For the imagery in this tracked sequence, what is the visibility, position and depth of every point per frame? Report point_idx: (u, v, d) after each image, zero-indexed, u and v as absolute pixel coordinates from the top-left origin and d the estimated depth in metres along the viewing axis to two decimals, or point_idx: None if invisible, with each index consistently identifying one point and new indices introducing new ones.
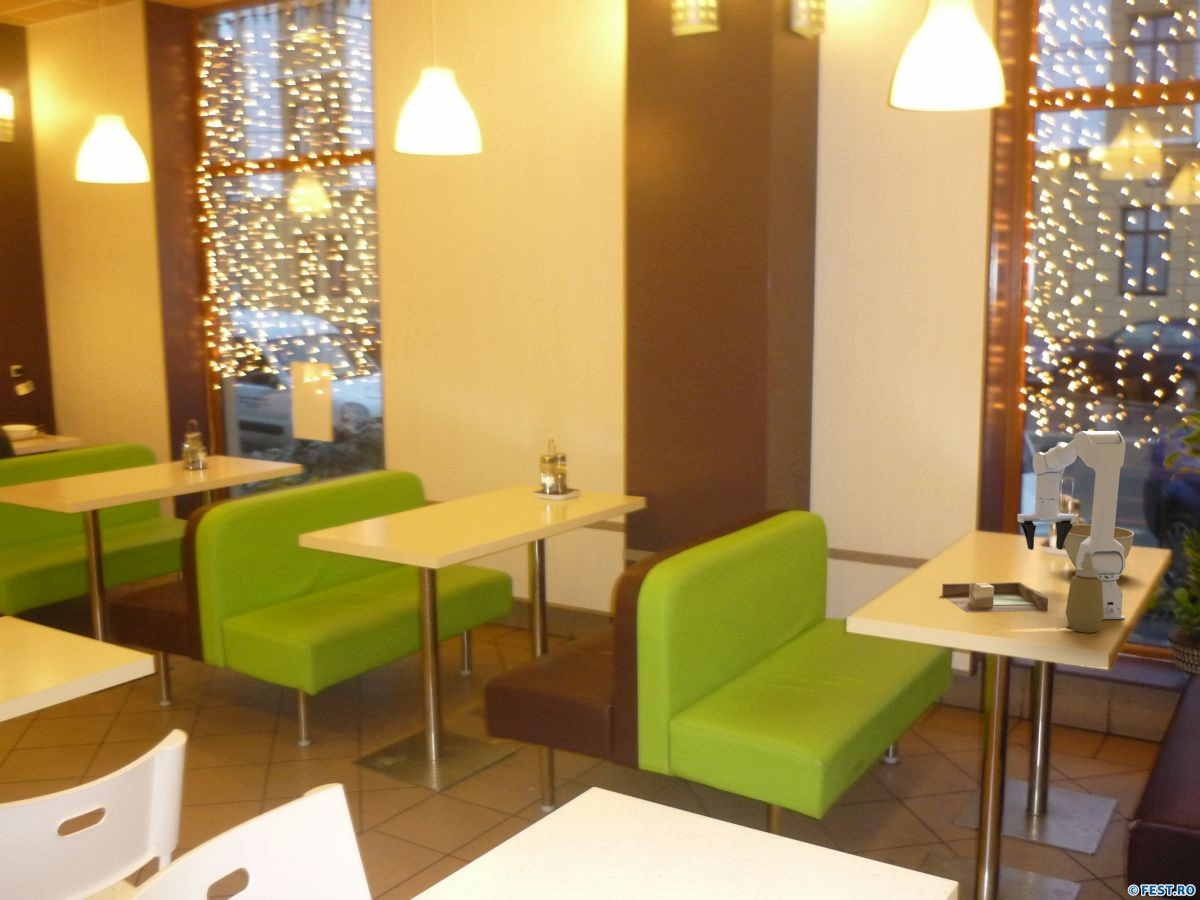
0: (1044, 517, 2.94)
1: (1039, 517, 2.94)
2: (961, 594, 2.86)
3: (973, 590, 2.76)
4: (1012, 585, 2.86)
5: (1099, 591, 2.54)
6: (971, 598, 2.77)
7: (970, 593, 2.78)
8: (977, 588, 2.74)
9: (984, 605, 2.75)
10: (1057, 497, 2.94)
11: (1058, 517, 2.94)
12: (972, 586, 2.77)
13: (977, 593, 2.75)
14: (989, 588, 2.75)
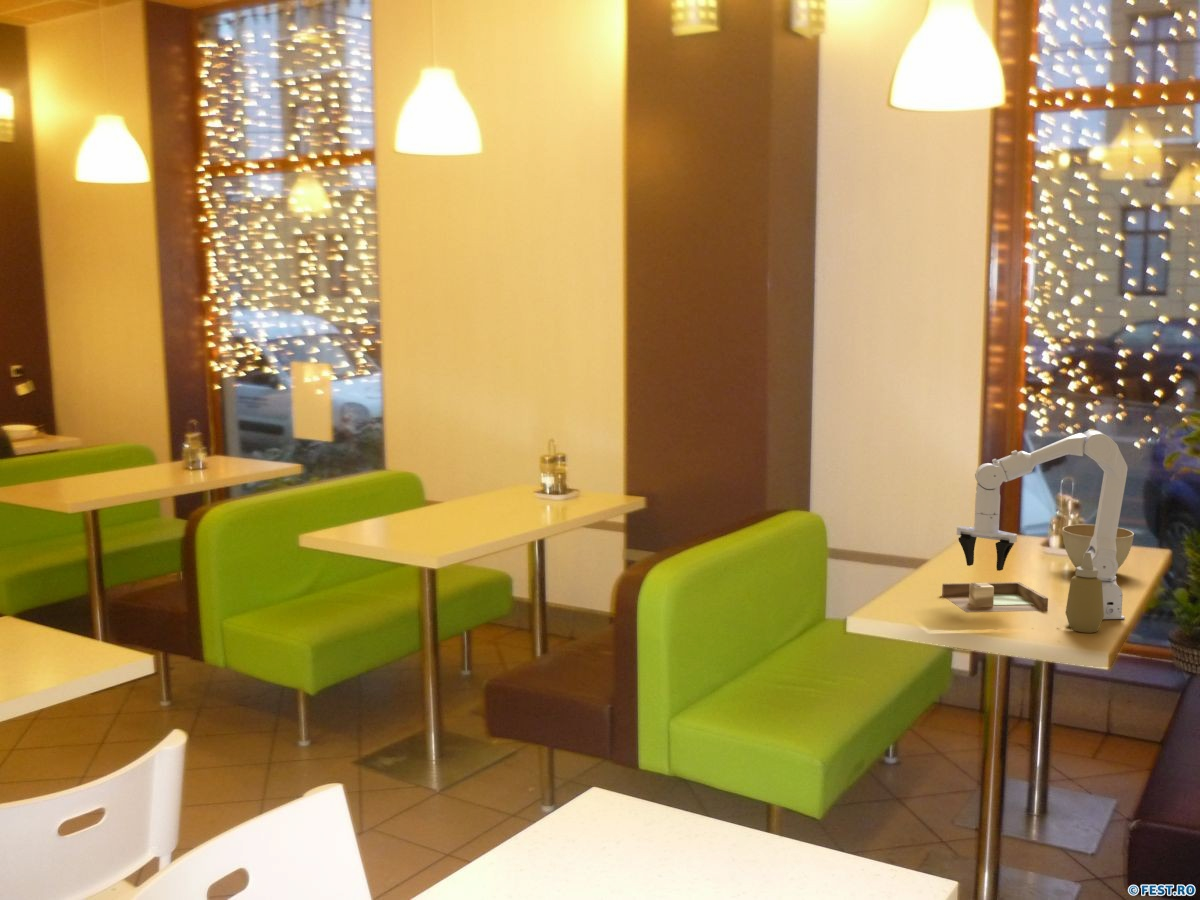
0: (975, 532, 2.75)
1: (971, 531, 2.76)
2: (961, 594, 2.86)
3: (973, 590, 2.76)
4: (1012, 585, 2.86)
5: (1099, 591, 2.54)
6: (971, 598, 2.77)
7: (970, 593, 2.78)
8: (977, 588, 2.74)
9: (984, 605, 2.75)
10: None
11: (990, 534, 2.73)
12: (972, 586, 2.77)
13: (977, 593, 2.75)
14: (989, 588, 2.75)
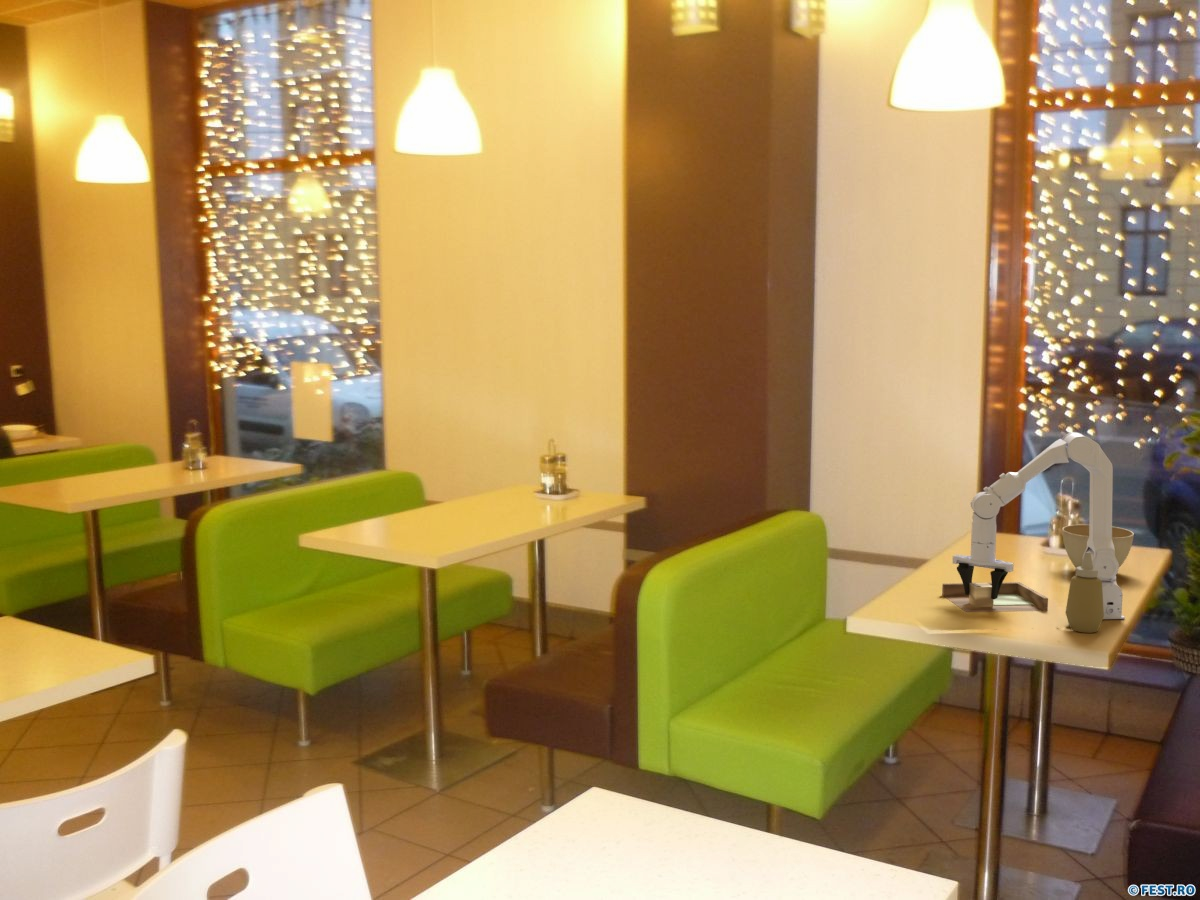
0: (971, 561, 2.75)
1: (967, 560, 2.76)
2: (961, 594, 2.86)
3: (973, 590, 2.76)
4: (1012, 585, 2.86)
5: (1099, 591, 2.54)
6: (971, 598, 2.77)
7: (970, 593, 2.78)
8: (977, 588, 2.74)
9: (984, 605, 2.75)
10: None
11: (987, 563, 2.73)
12: (972, 586, 2.77)
13: (977, 593, 2.75)
14: (989, 588, 2.75)
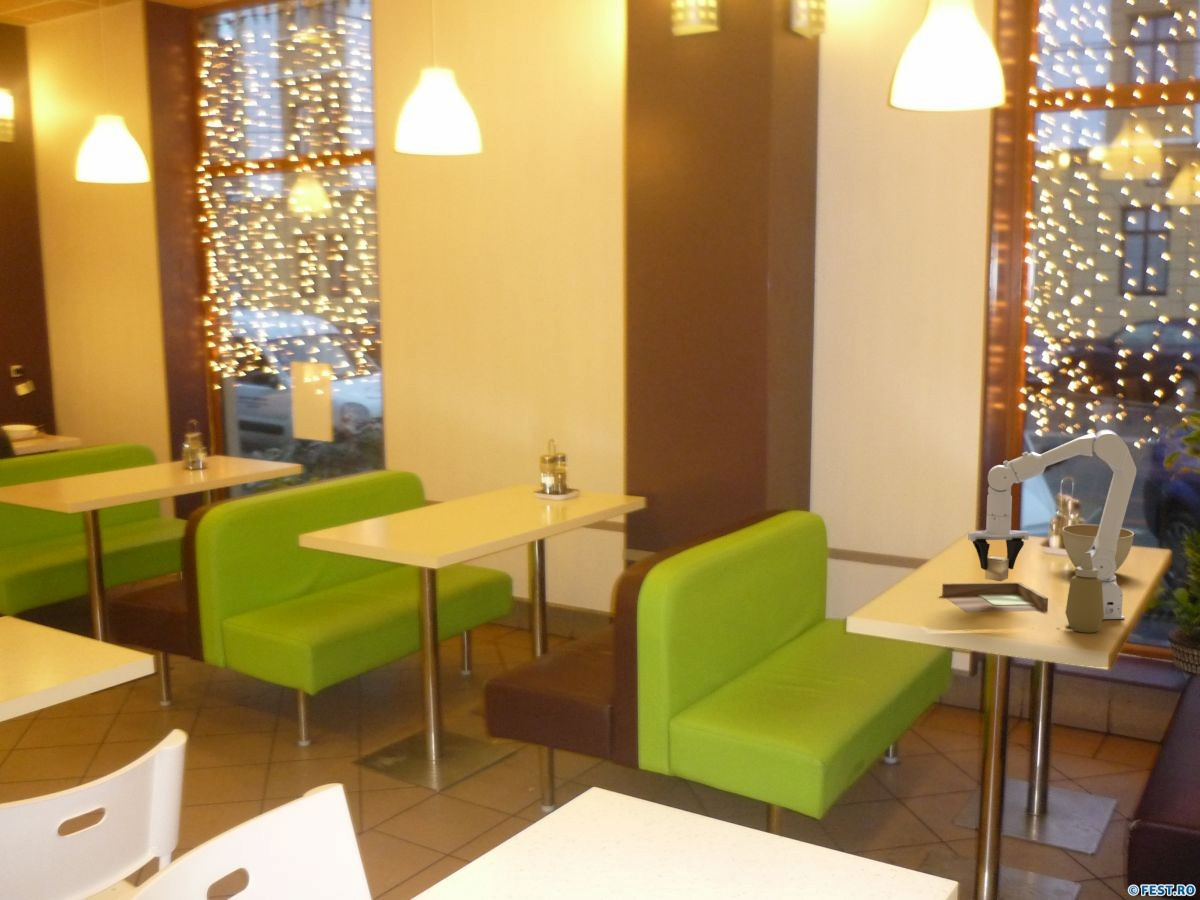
0: (996, 535, 2.75)
1: (991, 535, 2.75)
2: (961, 594, 2.86)
3: (996, 565, 2.76)
4: (1012, 585, 2.86)
5: (1099, 591, 2.54)
6: (992, 573, 2.77)
7: (987, 569, 2.78)
8: (1002, 562, 2.76)
9: (1004, 578, 2.78)
10: None
11: (1011, 535, 2.75)
12: (993, 561, 2.77)
13: (1002, 567, 2.76)
14: (1007, 560, 2.78)
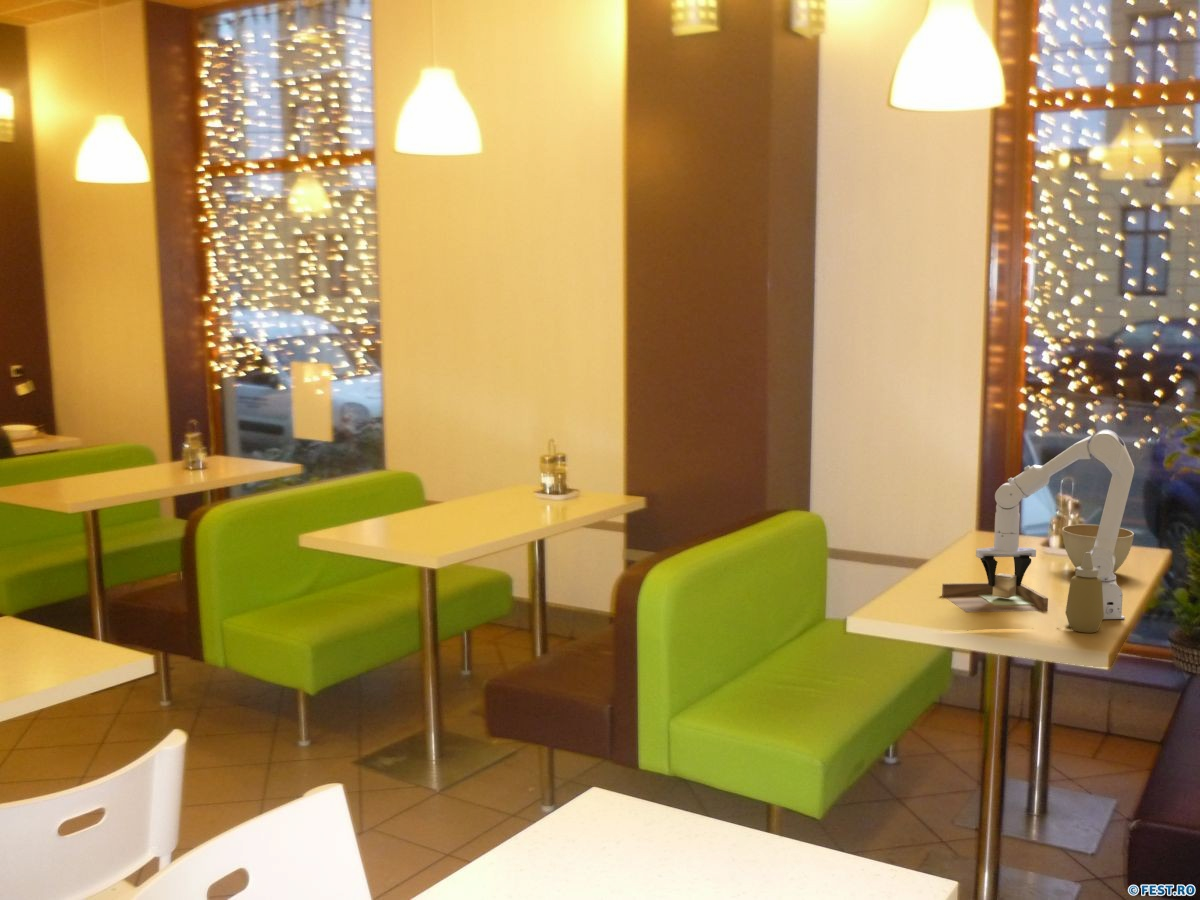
0: (1004, 552, 2.77)
1: (998, 552, 2.78)
2: (961, 594, 2.86)
3: (1003, 582, 2.79)
4: None
5: (1099, 591, 2.54)
6: (999, 590, 2.80)
7: (995, 585, 2.80)
8: (1009, 579, 2.78)
9: (1012, 595, 2.80)
10: None
11: (1018, 552, 2.78)
12: (1000, 578, 2.79)
13: (1009, 584, 2.78)
14: (1014, 577, 2.80)
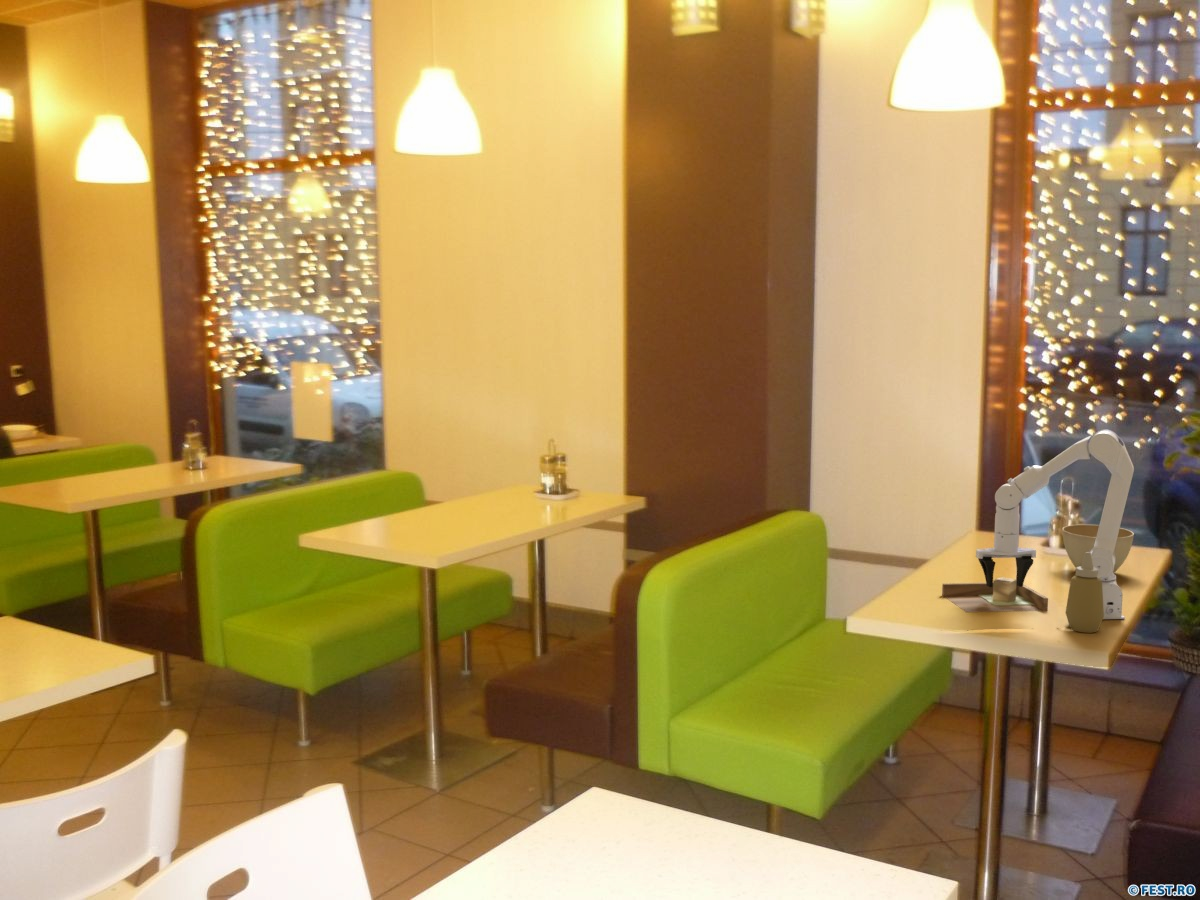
0: (1004, 553, 2.77)
1: (998, 553, 2.78)
2: (961, 594, 2.86)
3: (1003, 586, 2.79)
4: None
5: (1099, 591, 2.54)
6: (1000, 595, 2.80)
7: (995, 590, 2.80)
8: (1009, 583, 2.78)
9: (1012, 599, 2.80)
10: None
11: (1018, 553, 2.78)
12: (1000, 582, 2.79)
13: (1009, 588, 2.78)
14: (1014, 581, 2.80)
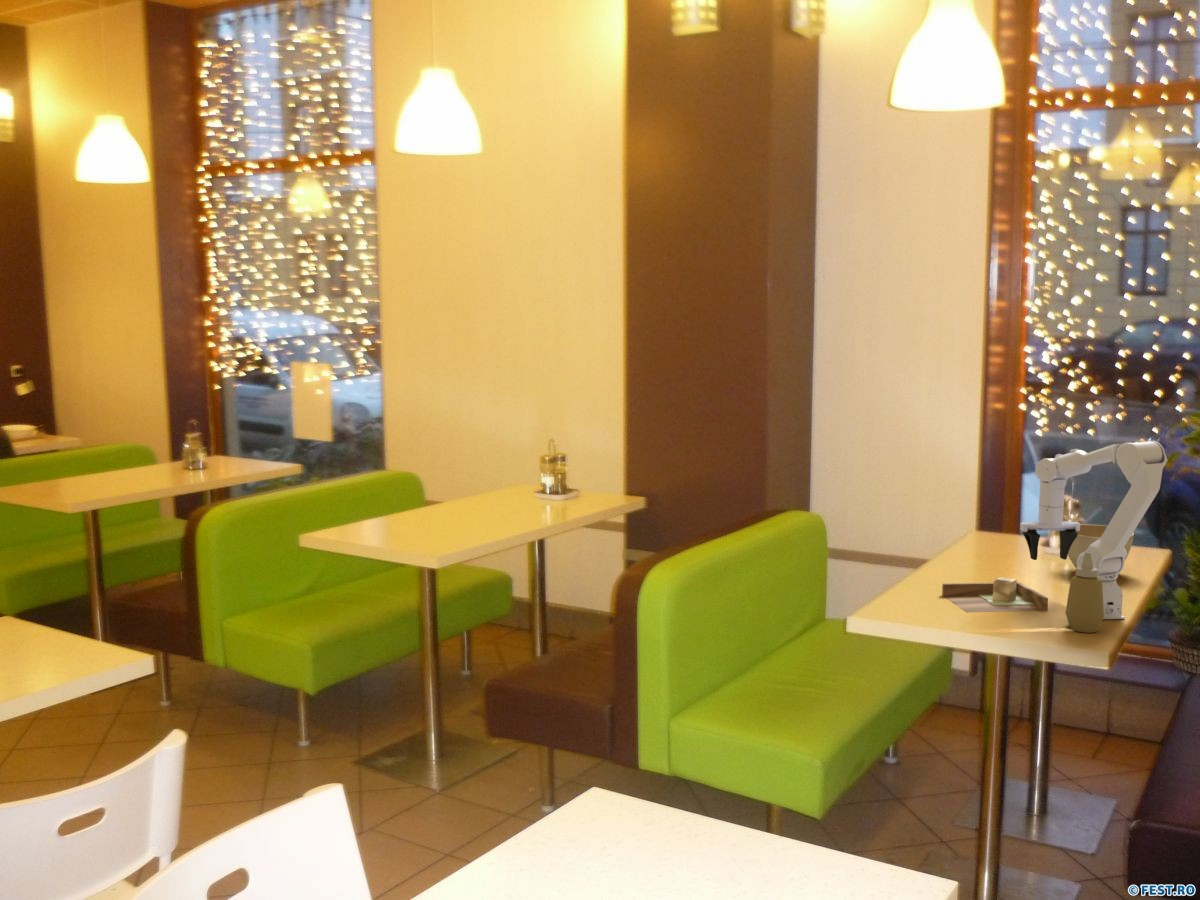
0: (1048, 526, 2.80)
1: (1043, 526, 2.81)
2: (961, 594, 2.86)
3: (1003, 586, 2.79)
4: None
5: (1099, 591, 2.54)
6: (1000, 595, 2.80)
7: (995, 590, 2.80)
8: (1009, 583, 2.78)
9: (1012, 599, 2.80)
10: (1063, 504, 2.81)
11: (1063, 526, 2.81)
12: (1000, 582, 2.79)
13: (1009, 588, 2.78)
14: (1014, 581, 2.80)
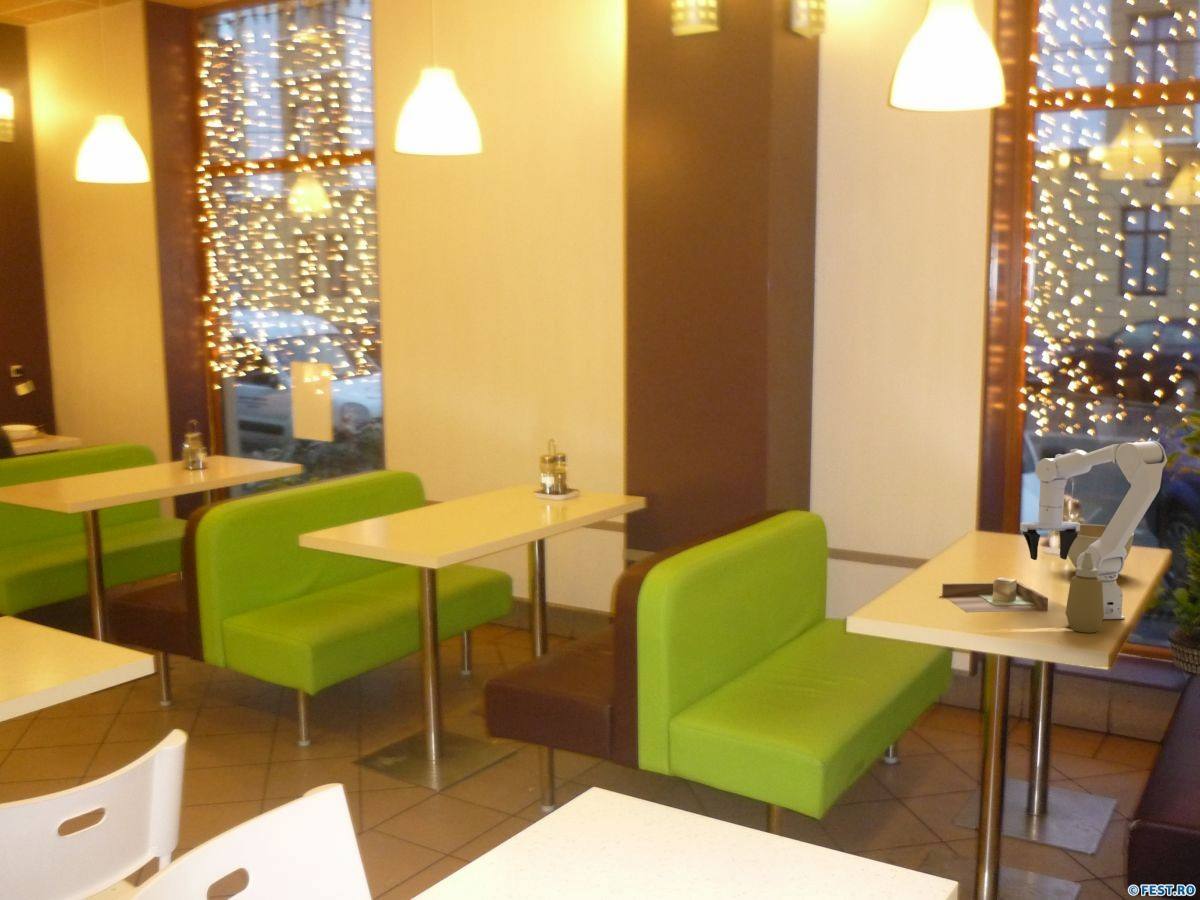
0: (1048, 526, 2.80)
1: (1043, 526, 2.81)
2: (961, 594, 2.86)
3: (1003, 586, 2.79)
4: None
5: (1099, 591, 2.54)
6: (1000, 595, 2.80)
7: (995, 590, 2.80)
8: (1009, 583, 2.78)
9: (1012, 599, 2.80)
10: (1063, 504, 2.81)
11: (1063, 526, 2.81)
12: (1000, 582, 2.79)
13: (1009, 588, 2.78)
14: (1014, 581, 2.80)
